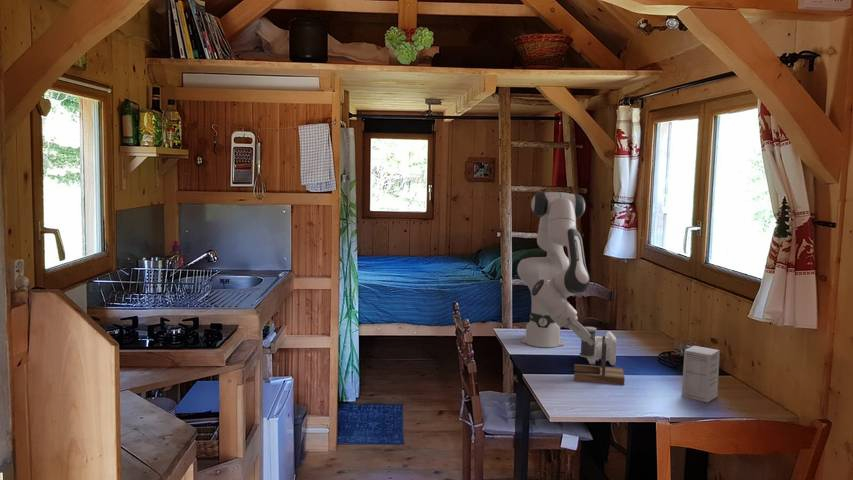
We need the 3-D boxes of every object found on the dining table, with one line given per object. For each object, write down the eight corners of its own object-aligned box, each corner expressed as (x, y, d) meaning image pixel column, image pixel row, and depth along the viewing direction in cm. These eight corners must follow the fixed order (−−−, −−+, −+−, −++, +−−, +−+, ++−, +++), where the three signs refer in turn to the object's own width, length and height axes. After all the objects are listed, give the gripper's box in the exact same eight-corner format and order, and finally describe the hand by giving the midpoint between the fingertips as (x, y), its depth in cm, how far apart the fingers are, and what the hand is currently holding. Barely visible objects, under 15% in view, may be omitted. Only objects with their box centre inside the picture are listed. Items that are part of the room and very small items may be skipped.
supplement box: (717, 396, 241) (721, 350, 240) (708, 403, 235) (711, 355, 233) (690, 390, 248) (693, 344, 246) (680, 396, 241) (683, 349, 239)
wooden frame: (574, 370, 269) (575, 333, 267) (621, 374, 265) (624, 337, 263) (574, 380, 256) (575, 342, 254) (624, 384, 252) (626, 346, 251)
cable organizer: (616, 368, 273) (617, 339, 272) (589, 366, 274) (590, 338, 273) (608, 357, 288) (610, 330, 287) (583, 356, 289) (584, 329, 288)
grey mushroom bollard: (579, 353, 264) (580, 326, 263) (595, 354, 263) (596, 327, 262) (579, 357, 259) (580, 329, 257) (595, 358, 257) (596, 330, 256)
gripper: (578, 316, 248) (603, 343, 250) (565, 305, 269) (588, 329, 270) (565, 328, 249) (591, 354, 250) (553, 316, 269) (577, 340, 270)
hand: (589, 341), depth 260 cm, fingers closed on grey mushroom bollard, 5 cm apart
